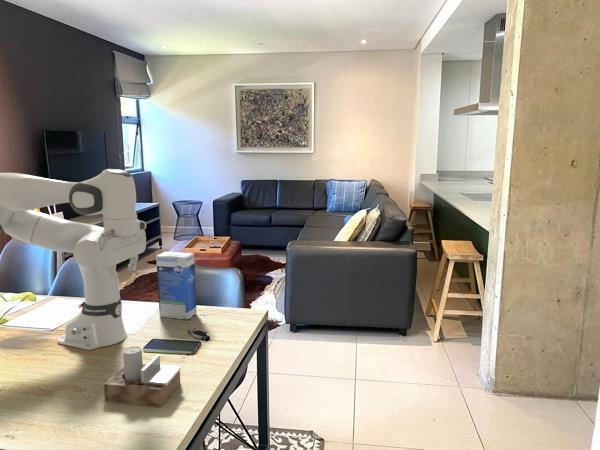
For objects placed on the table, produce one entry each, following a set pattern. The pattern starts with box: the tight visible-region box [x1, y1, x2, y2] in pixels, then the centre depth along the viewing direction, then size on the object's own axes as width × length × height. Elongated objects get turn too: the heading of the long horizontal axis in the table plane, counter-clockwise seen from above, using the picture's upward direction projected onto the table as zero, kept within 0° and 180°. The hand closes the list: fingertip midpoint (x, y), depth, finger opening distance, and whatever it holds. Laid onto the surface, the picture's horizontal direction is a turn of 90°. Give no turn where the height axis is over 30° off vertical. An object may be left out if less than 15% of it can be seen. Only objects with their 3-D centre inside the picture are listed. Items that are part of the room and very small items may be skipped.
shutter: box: [141, 354, 182, 386], centre depth 120 cm, size 7×9×4 cm
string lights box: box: [155, 251, 197, 320], centre depth 176 cm, size 13×8×26 cm, turn 77°
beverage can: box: [122, 346, 144, 381], centre depth 121 cm, size 5×5×12 cm
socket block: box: [103, 363, 181, 408], centre depth 122 cm, size 16×12×5 cm
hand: (123, 274), depth 126 cm, fingers open, 8 cm apart
